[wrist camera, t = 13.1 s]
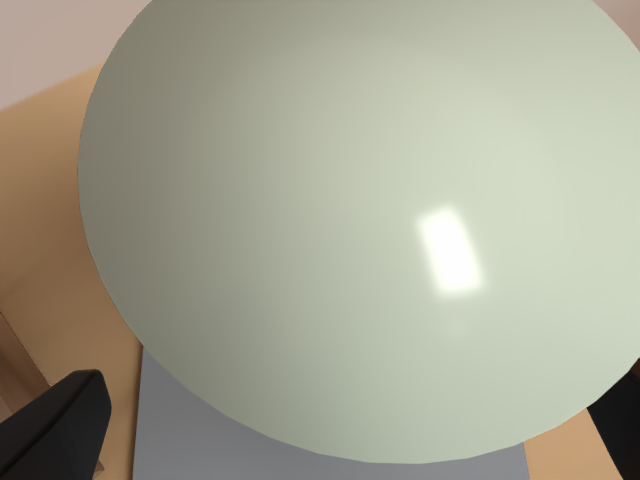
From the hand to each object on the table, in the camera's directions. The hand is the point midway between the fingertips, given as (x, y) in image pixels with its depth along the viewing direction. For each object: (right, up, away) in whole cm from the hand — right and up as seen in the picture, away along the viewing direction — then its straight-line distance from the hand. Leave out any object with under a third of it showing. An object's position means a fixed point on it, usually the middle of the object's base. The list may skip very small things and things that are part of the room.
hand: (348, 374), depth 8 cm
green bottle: (0, -1, +9) cm, 9 cm away
